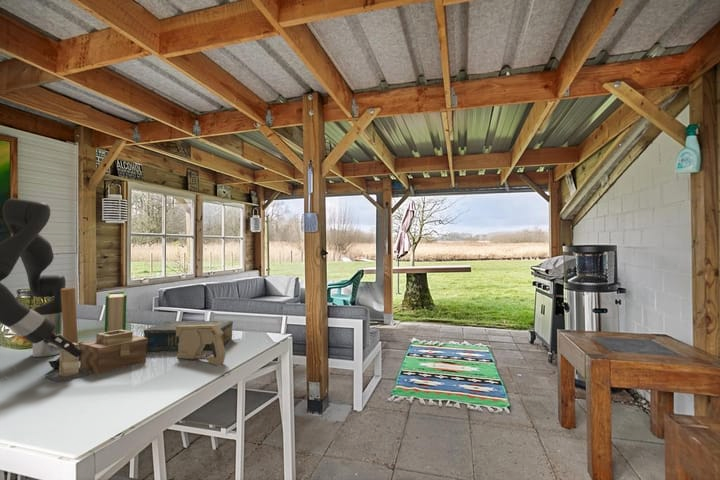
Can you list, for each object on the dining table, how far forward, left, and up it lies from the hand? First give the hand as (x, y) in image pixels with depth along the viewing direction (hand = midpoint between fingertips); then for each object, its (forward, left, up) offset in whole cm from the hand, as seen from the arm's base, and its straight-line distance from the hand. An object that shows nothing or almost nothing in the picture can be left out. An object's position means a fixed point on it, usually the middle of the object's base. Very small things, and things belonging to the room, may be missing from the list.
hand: (73, 352), depth 120 cm
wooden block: (0, -1, -7) cm, 7 cm away
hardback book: (-27, +26, -8) cm, 38 cm away
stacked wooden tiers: (0, +13, -7) cm, 15 cm away
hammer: (-17, +6, -8) cm, 20 cm away
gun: (+25, +32, -8) cm, 41 cm away
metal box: (0, +44, -8) cm, 45 cm away
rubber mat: (0, -1, -7) cm, 8 cm away
